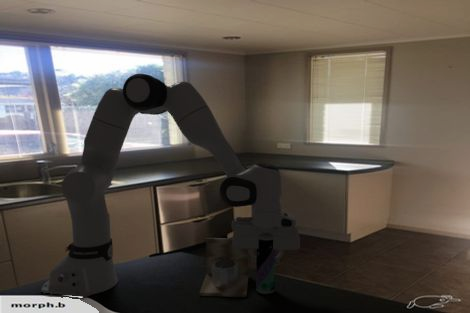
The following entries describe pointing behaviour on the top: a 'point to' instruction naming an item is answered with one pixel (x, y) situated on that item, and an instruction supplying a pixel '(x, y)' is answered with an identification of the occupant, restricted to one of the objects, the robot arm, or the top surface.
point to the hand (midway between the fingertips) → (265, 262)
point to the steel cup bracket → (225, 273)
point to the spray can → (265, 264)
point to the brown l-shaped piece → (218, 251)
